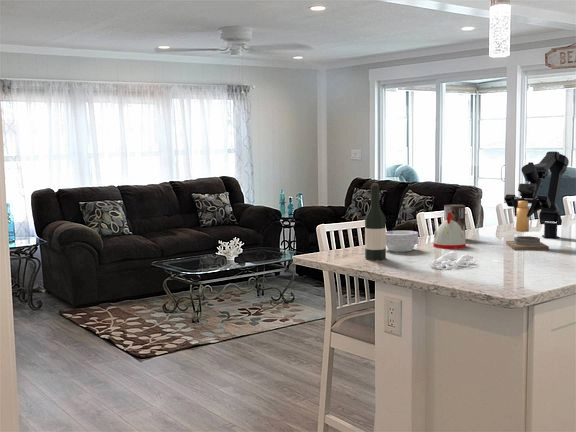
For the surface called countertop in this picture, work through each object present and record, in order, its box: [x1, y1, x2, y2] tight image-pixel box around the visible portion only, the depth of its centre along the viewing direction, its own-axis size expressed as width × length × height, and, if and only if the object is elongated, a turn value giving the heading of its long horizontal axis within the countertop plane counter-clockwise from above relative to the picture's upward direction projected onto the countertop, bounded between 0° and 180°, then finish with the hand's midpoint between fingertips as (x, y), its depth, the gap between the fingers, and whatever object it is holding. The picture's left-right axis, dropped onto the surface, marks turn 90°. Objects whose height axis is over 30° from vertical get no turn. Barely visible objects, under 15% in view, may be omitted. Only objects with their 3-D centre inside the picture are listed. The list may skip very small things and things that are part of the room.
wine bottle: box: [364, 183, 387, 261], centre depth 268 cm, size 8×8×30 cm
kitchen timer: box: [432, 213, 467, 250], centre depth 296 cm, size 14×14×15 cm
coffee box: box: [443, 204, 466, 235], centre depth 316 cm, size 9×6×16 cm
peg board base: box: [505, 235, 550, 251], centre depth 290 cm, size 16×14×4 cm
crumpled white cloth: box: [428, 251, 476, 271], centre depth 251 cm, size 19×14×4 cm
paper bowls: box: [386, 230, 419, 253], centre depth 288 cm, size 15×15×8 cm
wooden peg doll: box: [515, 201, 530, 233], centre depth 290 cm, size 5×5×13 cm
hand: (521, 216), depth 289 cm, fingers closed on wooden peg doll, 5 cm apart
